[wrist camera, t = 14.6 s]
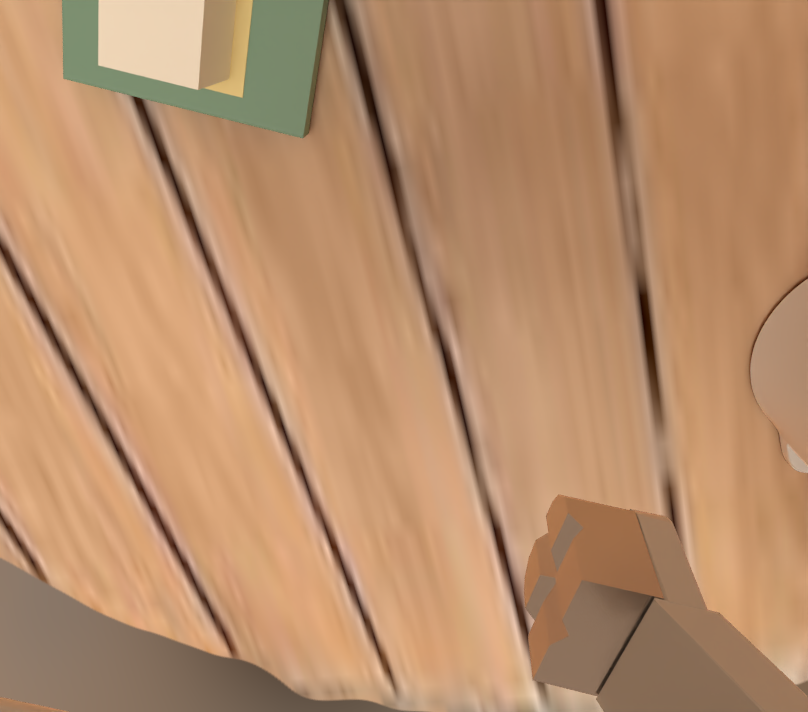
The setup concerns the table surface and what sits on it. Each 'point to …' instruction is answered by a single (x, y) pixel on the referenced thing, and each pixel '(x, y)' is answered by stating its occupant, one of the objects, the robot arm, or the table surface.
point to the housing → (168, 39)
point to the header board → (249, 71)
